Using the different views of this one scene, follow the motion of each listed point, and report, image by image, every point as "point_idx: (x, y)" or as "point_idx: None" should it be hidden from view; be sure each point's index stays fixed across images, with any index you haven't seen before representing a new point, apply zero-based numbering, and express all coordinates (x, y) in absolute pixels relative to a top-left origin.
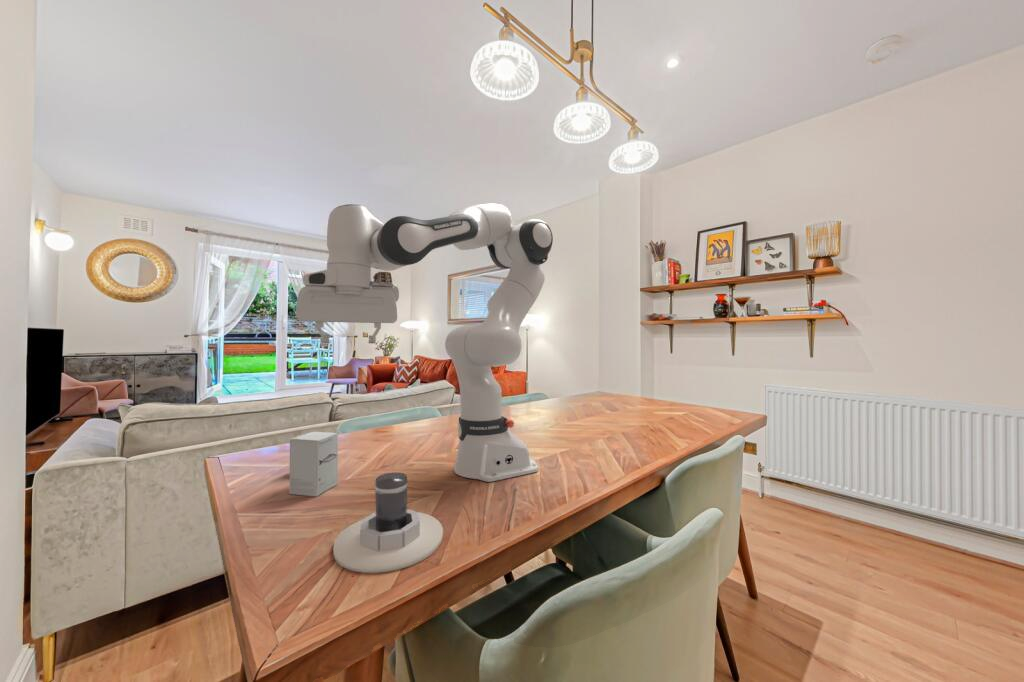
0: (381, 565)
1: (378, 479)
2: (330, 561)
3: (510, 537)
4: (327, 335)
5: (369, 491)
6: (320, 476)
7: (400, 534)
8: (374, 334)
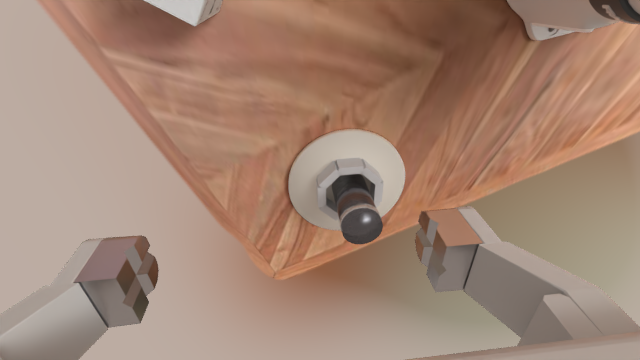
0: (337, 229)
1: (345, 230)
2: (289, 203)
3: (463, 201)
4: (132, 321)
5: (316, 13)
6: (216, 7)
7: None
8: (480, 294)
